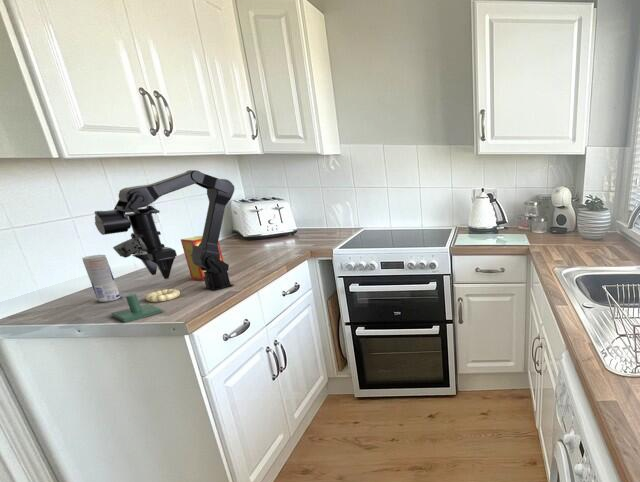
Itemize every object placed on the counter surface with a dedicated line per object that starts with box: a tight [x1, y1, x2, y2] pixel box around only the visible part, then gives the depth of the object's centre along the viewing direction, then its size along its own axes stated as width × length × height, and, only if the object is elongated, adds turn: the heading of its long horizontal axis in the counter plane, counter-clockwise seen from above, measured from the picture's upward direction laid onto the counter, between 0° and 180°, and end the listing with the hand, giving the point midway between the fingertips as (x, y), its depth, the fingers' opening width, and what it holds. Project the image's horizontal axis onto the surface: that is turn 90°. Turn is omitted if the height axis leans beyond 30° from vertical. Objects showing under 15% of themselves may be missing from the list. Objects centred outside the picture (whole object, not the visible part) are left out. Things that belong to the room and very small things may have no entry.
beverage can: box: [81, 254, 121, 303], centre depth 136 cm, size 6×6×15 cm
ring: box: [144, 288, 181, 303], centre depth 140 cm, size 9×9×2 cm
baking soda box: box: [180, 234, 225, 282], centre depth 161 cm, size 10×6×16 cm
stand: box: [111, 293, 162, 323], centre depth 125 cm, size 9×9×6 cm
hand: (160, 276), depth 135 cm, fingers open, 9 cm apart
